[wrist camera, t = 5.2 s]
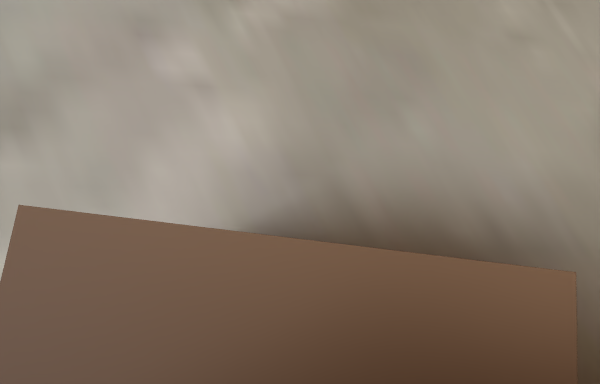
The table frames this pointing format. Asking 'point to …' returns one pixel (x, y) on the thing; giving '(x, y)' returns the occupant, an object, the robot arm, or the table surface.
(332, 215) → the table surface
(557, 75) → the table surface
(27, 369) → the walnut block
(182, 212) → the table surface
